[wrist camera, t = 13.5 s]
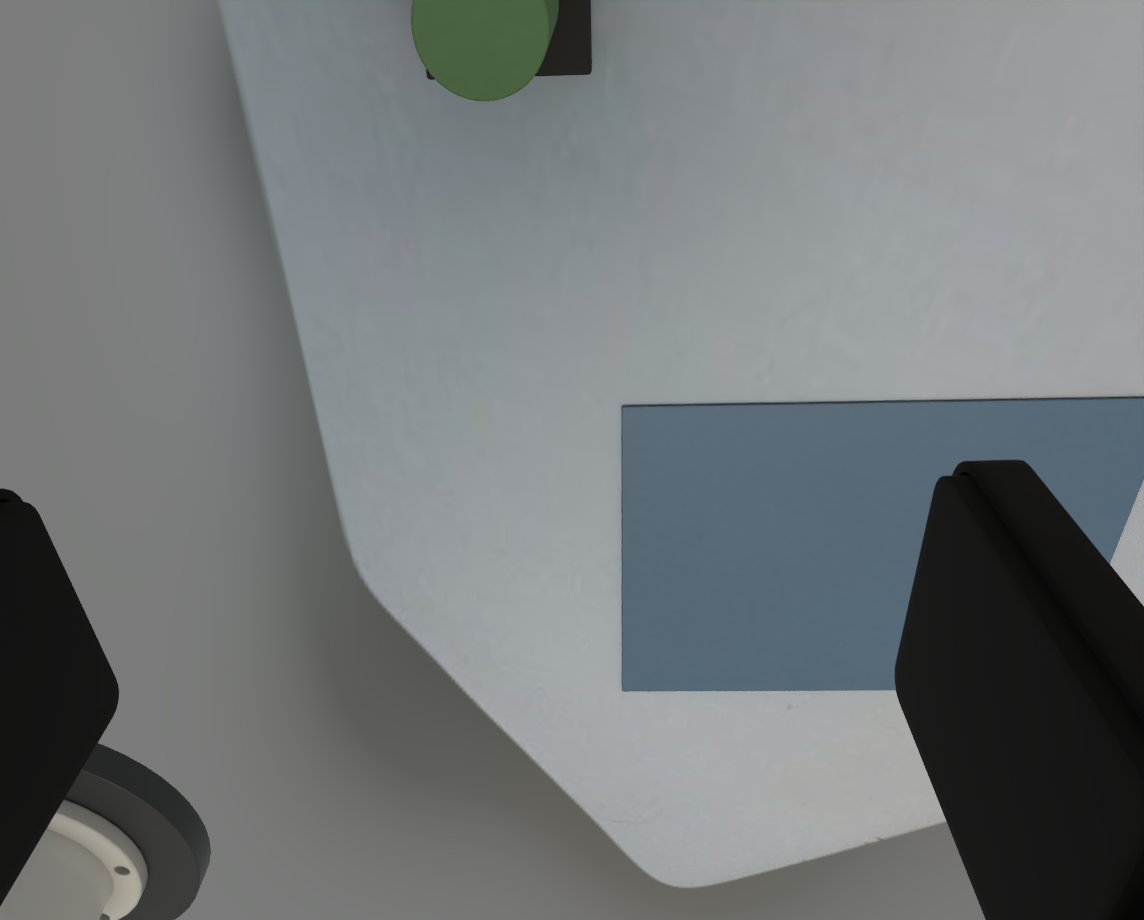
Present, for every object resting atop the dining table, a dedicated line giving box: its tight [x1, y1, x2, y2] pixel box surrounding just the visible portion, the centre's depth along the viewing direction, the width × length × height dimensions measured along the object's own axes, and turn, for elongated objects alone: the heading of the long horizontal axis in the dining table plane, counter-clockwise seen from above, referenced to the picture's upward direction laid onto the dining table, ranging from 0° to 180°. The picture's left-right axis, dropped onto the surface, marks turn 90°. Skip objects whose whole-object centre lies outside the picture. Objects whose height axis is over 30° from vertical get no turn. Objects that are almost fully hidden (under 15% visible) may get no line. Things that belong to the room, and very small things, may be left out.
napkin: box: [622, 397, 1144, 691], centre depth 37 cm, size 21×16×1 cm
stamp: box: [411, 0, 592, 101], centre depth 23 cm, size 5×4×7 cm
